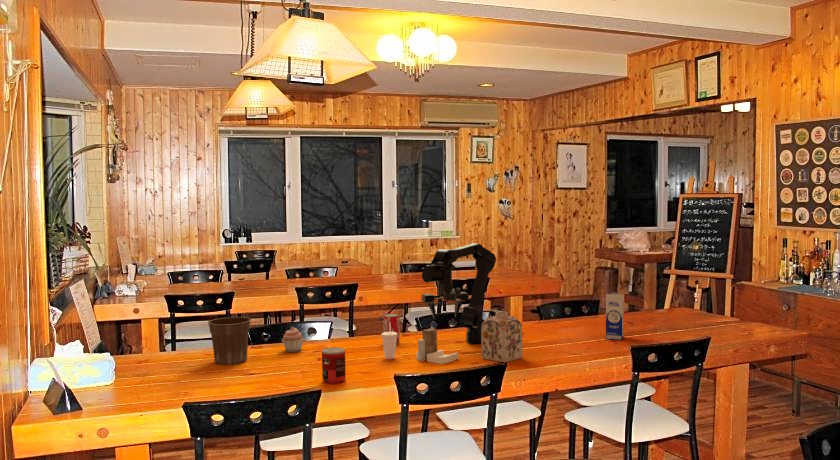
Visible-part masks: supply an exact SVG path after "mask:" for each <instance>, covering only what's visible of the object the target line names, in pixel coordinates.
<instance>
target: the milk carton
mask: <svg viewBox="0 0 840 460" xmlns="http://www.w3.org/2000/svg"><path fill="white" fill-rule="evenodd" d="M624 298H625V295H624V294H621V293H620V292H616V291H615V292H614V291H613V292H611V293H605V340H611V341H612V340H613V341H614V340H615V341H623V339H624V334H625V333H624V332H625V329H624V328H625V327H624V324H625V319H624V317H625V315H624V313H625V312H624V311H625V310H624V309H625V307H624V306H625V305H624V304H625V299H624Z"/></svg>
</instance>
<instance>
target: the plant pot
mask: <svg viewBox="0 0 840 460" xmlns="http://www.w3.org/2000/svg"><path fill="white" fill-rule="evenodd" d="M251 321H252V319H251V318H250V317H246V316H245V317H243V316H230V317H229V316H228V317H220V318H215V319H211V320H208V321H207V325H208V327H209V333H210V334H211V335H210V336H211V342H212V348H213V349H212V350H213V356H214V357H213V358H214V363H215V364H217V365H219V363H220V365H225V366H231V365H230V364H232V365H237V364H240V363H245V362H246V361H247V360H248V345H249V344H248V343H249V331H250V325H251Z"/></svg>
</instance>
